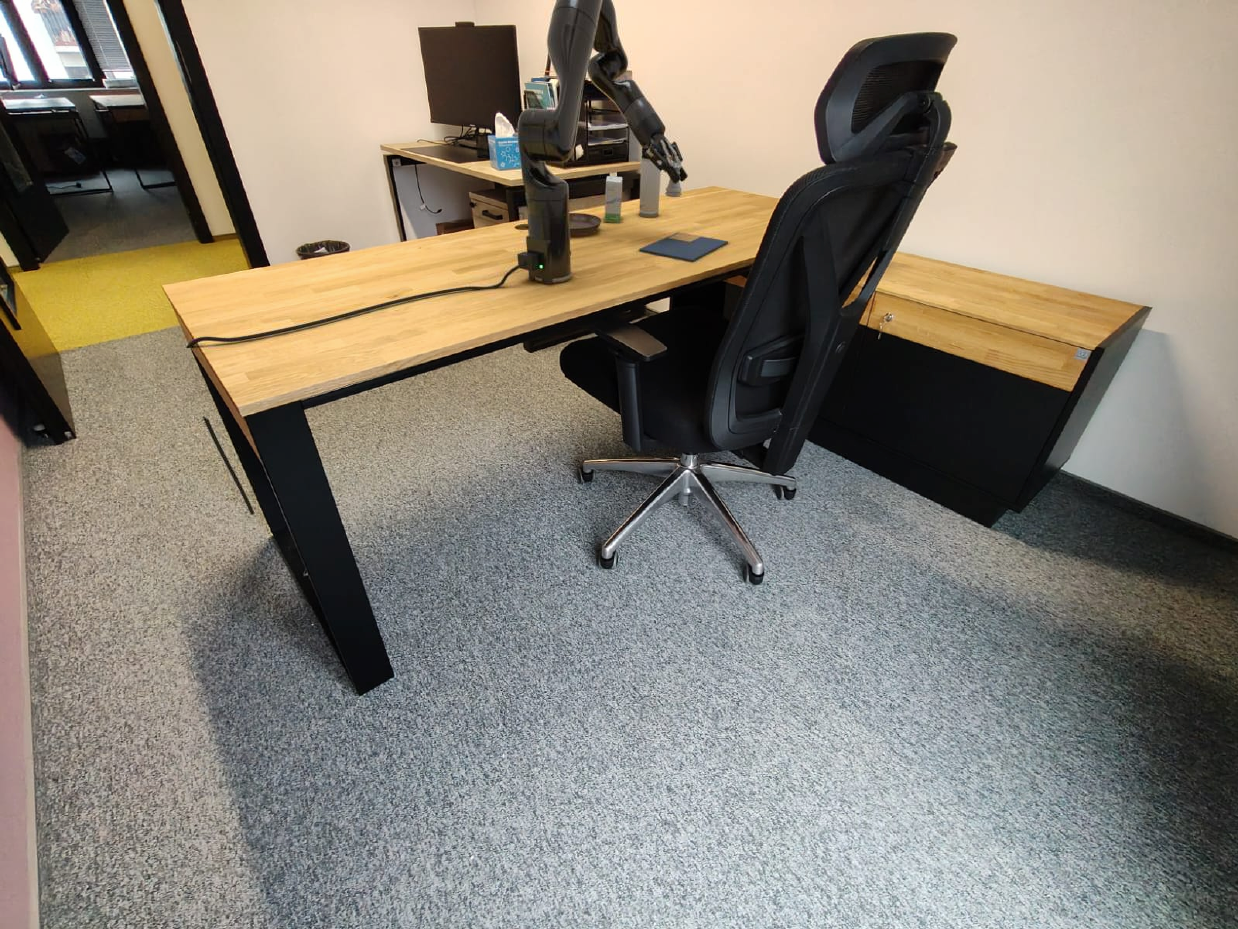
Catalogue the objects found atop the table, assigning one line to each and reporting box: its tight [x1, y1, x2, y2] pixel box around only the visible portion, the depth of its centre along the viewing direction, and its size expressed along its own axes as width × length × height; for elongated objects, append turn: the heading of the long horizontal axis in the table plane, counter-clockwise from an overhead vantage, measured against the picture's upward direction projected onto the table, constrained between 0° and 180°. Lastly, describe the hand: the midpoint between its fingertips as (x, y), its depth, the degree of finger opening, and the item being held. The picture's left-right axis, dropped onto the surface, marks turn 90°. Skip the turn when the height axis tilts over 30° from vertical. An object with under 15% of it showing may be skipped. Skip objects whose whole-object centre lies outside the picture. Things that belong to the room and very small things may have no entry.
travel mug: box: [638, 147, 662, 218], centre depth 177 cm, size 6×7×20 cm
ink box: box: [604, 175, 623, 224], centre depth 174 cm, size 9×5×12 cm, turn 179°
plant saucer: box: [569, 212, 603, 237], centre depth 164 cm, size 18×18×3 cm
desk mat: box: [638, 231, 729, 263], centre depth 153 cm, size 22×16×1 cm
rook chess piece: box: [665, 161, 683, 198], centre depth 148 cm, size 4×4×8 cm
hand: (681, 180), depth 147 cm, fingers closed on rook chess piece, 3 cm apart
